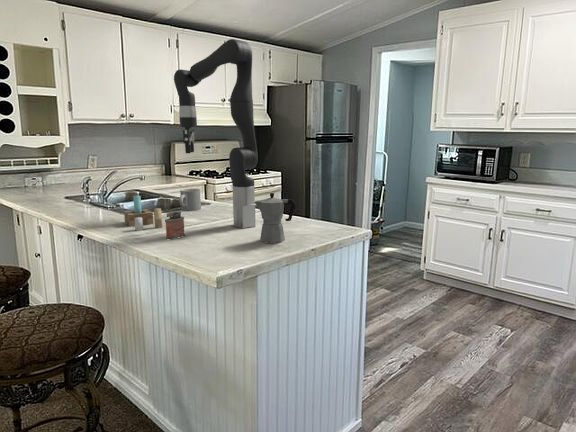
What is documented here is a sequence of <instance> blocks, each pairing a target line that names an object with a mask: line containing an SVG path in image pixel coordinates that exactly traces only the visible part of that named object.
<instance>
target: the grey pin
mask: <svg viewBox="0 0 576 432" xmlns="http://www.w3.org/2000/svg"><path fill="white" fill-rule="evenodd" d="M134 227H135V231H136V230H138V232H141V231H143V230H144V225H143V222H142V218H141V217H138V218H135V226H134ZM140 230H141V231H140Z"/></svg>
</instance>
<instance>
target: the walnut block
mask: <svg viewBox="0 0 576 432" xmlns="http://www.w3.org/2000/svg"><path fill="white" fill-rule="evenodd" d="M141 210H142V213H134V209H133V210H124V211H123V217H124V223H125V224H126V225H127V226H129V227H130V228H131V227H135V218H138V217H141V218H142V222H143V226H147V225H155V222H154V212H152V211H150V210H149V209H147V208H145V209H142V208H141Z"/></svg>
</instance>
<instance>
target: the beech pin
mask: <svg viewBox="0 0 576 432" xmlns="http://www.w3.org/2000/svg"><path fill="white" fill-rule="evenodd" d="M162 219H163V217H162V208H161V207H160V208H159V207H157V208H153V222H154V228H155V229H161V228H163V220H162Z"/></svg>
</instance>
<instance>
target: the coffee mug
mask: <svg viewBox="0 0 576 432" xmlns="http://www.w3.org/2000/svg"><path fill="white" fill-rule="evenodd" d="M179 192H180V193H179V194H180V196H179V199H178V202H179V205H180V208H181V211H184V212H191V211H193V212H194V211H200V210H202V203H201V202H202V201H201V189H200V188H182V189H180V190H179Z"/></svg>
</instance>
